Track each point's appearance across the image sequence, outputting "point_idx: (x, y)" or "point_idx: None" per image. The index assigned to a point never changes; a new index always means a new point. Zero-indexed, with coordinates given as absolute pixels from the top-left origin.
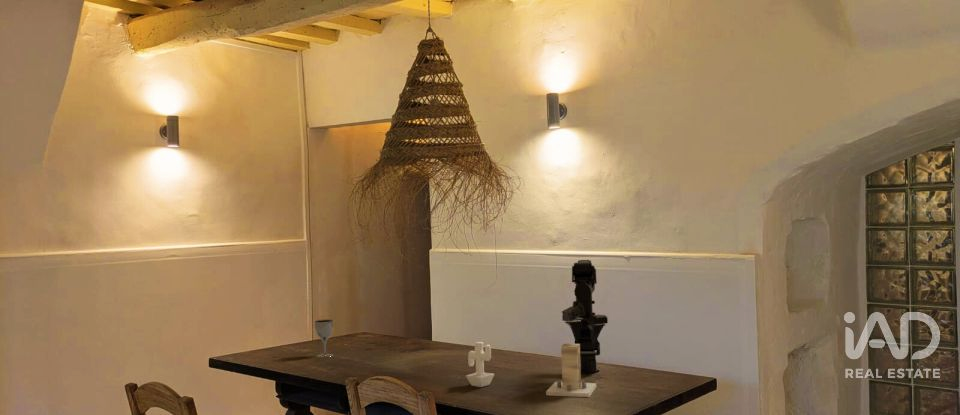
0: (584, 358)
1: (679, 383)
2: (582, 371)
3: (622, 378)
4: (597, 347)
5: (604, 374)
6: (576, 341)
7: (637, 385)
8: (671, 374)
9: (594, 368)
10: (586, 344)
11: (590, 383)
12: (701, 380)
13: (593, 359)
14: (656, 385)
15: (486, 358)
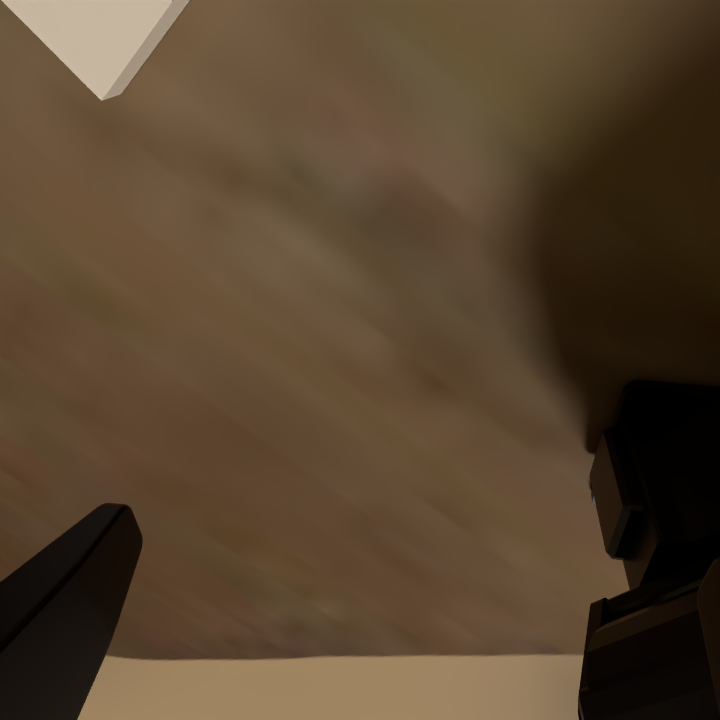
0: (711, 505)
1: (19, 539)
2: (688, 392)
3: (289, 450)
4: (584, 680)
5: (487, 458)
6: (717, 559)
7: (51, 377)
8: (222, 639)
9: (597, 475)
10: (692, 662)
11: (122, 43)
12: None
13: (629, 547)
14: (12, 446)
15: None
